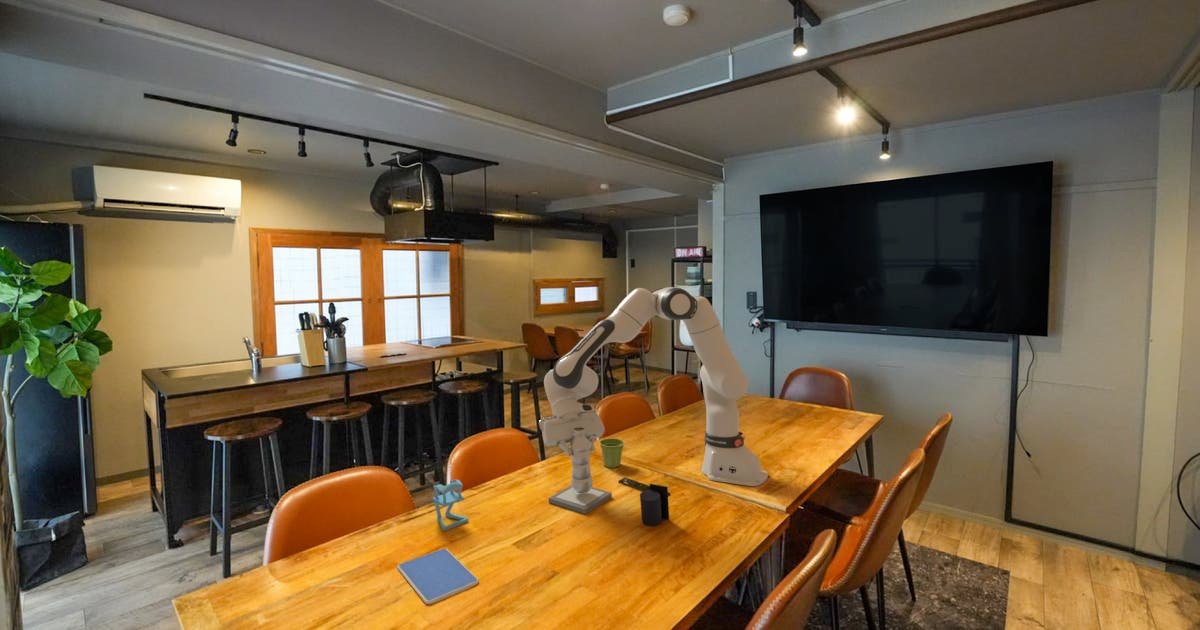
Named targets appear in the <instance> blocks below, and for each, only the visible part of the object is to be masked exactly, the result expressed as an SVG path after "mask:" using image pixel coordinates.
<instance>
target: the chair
mask: <svg viewBox="0 0 1200 630" xmlns="http://www.w3.org/2000/svg"><path fill="white" fill-rule="evenodd" d="M463 487H464V486H463V483H462V482H461V481H460V479H452V480H450V481H449V484H446V485H443V484H441V483H440V484H436V485H433V490H434V493H435V495H434V496H433V497H432V502H433V504H434V507H435V512H436V515H437V517H436V519H437V520H438V523H439V525H440V528H441V531H447V530H451V529H453V528H455V527H458V526H460V525H462V524H465V523H468V522H469V518H468V517H466V516H464V515H463V516H462V515H459V514H455V513H452V512H451V511H452V508H453V506H454V504H455V503H456V504H457V503H460V502H462V501H465V496H463V495H462V491H463V490H462V489H463ZM455 490H458V491H457V492H456V491H455ZM439 492H440V493H441V494H439ZM440 507H442V508H446V507H447V508H446V511H445V515H444V516H445V517H447V518H449V519H455V520H458V521H455V522H452V523H450V524H447V525H445V523H444V519H443V517H442V514H441V513H442V512H441V509H440Z"/></svg>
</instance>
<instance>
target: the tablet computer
mask: <svg viewBox="0 0 1200 630" xmlns="http://www.w3.org/2000/svg"><path fill="white" fill-rule="evenodd" d="M396 569H397V571H398V572H399V573H400V574H401V575H402V576H403V577H404V578H405V580H406V581H407V582H408V583H409V585H410V586H411V587H412V589H414V591H415V592H416V593H417V595H418V596H419V597H420V599H421V600H422V601H423V602H424V604H426V605H432V604H434V603H438V602H440V601H442V600H445V599H446V598H449V597H451V596H455V595H456V594H458V593H461V592H463V591H466V590H467V589H470V588H472V587H474V586H476V585H478V584H479V583H480V580H479V578H477V576H476V575H475V574H473V573H472V572H471V571H470V570H469V569H468V568H467V567H466V566H465V565H464V564H463V563H462V562H461V561H460V560H458V558H457V557H456V556H455V555H453V554H452V552H450V551H449V550H448V549H447V548H441V549H439V550H436V551H433V552H430V553H427V554H424V555H421V556H419V557H416V558H413V559H410V560H407V561H405V562H402V563H399V564H398V565H397V567H396Z"/></svg>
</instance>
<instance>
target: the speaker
mask: <svg viewBox="0 0 1200 630" xmlns="http://www.w3.org/2000/svg"><path fill="white" fill-rule="evenodd" d="M668 490H669V488H668V486H666V485H660V484H654V483H649V489H646V490H645V489H644V490H643V491H641V492H640V494H639V501H640V513H641V514H640V515H641V516H640V517H641V522H642V524H643V525H646V526H648V527H656V526H659V525H660V524H662V521H663V520H666V521H669V520H670V512H669V511H670V506H669V491H668Z"/></svg>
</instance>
